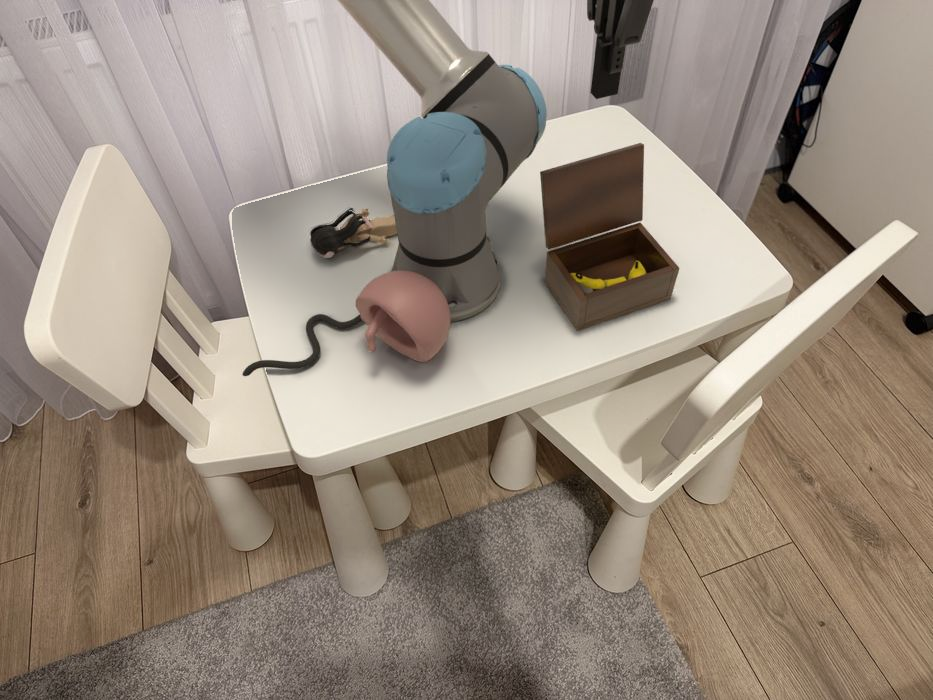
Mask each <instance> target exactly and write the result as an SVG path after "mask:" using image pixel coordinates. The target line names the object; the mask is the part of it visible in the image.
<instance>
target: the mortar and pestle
mask: <svg viewBox="0 0 933 700" xmlns="http://www.w3.org/2000/svg"><path fill="white" fill-rule="evenodd" d="M354 305H355V308H356V309H357V311H358V314H360V317H361V319H362V320H363V321H362V322H364V323H365V324H366V325H367V326H368V327H367V329H366V331H365V333H364V336H365V339H366V345H367V351H368V352H370V353H374V352H375V351H376V348H377V343H376V337H377V338H378V339H379V340H382V341H383V343H385V344H386V345H388V346H390V347H391V348H392V349H393V350H394V351H396V352H398V353H399V354H401V355H402V356H405V357H407V358H410V359H411V360H414V361H417V362H421V363H423V362H427V361H429V360H431V359H433V358H434V357H435V355H437V353H439V352H440V350H441V349H442V347H443V346H444V344H445V342H446V340H447V338H448V336H449V332H450V328H451V321H450V310H449V306H448V303H447V300H446V298H445V296H444V294H443V293H442V291H441V290H440V289H439V288H438V286H437V285H436V284H435V283H433V282H432V281H431V280H430V279H428V278H427V277H425V276H423V275H421V274H418V273H415V272H411V271H392V270H391V271H388V272H385V273H382V274H381V275H378V276H377V277H374V278H373V279H372V280H371V281H369V282H368V283H367V284H366V285H365V286H364V287H363V289H362V290H361V291H360V293H359V294H358V296H357V297H356V299H355V301H354Z"/></svg>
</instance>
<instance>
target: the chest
mask: <svg viewBox="0 0 933 700" xmlns="http://www.w3.org/2000/svg"><path fill="white" fill-rule="evenodd" d="M636 261H639V262H640V263H641V264H642V266H643V267H644V269H645V271H646V274H644V275H641V276H638V277H635V278H632V279H629V280H628V277H629V273H630V271H631V270H632V268H633V266H634V264H635V262H636ZM679 271H680V266H679V265H678V264H677V263H676V262H675V261H674V260H673V259H672V257H671V256H670V255H669V254H668V253H667V252H666V250H665V249H664V248H663V247H662V246H661V244H660V243H659V242H658V241H657V240H656V239H655V238H654V237H653V235H652V234H651V233H650V232H649V230H648V229H647V228H646V227H645V226H644V225H643V224H642V222H636V223H632V224H629V225H626V226H623V227H619V228H616V229H613V230H610V231H607V232H603V233H600V234H597V235H594V236H591V237H588V238H584V239H581V240H578V241H575V242H572V243H568V244H565V245H562V246H559V247H556V248H553V249H549V250H548V251H546V260H545V272H544V273H545V274H544V283H545V285H546V287H547V288H548V289H549V291H550V292H551V293H552V295H553V297H554V299H555V300H556V301H557V303H558V304H559V306H560V307H561V310H562V311H563V312H564V313H565V315H566V316H567V318H568V320H569V321H570V323H571V324H572V325H573V327H574V328H575V330H576V331H577V332H578V331H581V330H584V329H587V328H590V327H593V326H596V325H600V324H602V323H604V322H607V321H610V320H613V319H616V318H619V317H622V316H624V315H628V314H631V313H634V312H637V311H640V310H642V309H645V308H649V307H650V306H653V305H656V304H659V303H662V302H665V301H668V300H671V299H672V296H673V292H674V290H675V286H676V282H677V278H678V275H679V273H680V272H679ZM578 272H579V273H581V274H582V276H584V277H587V278H590V279H601V280H603V281H604V280H609V279H616V278H620V277H626V281H623V282H620V283H617V284H614V285H611V286H608V287H605V288H602V289H599V290H596V291H593V292H590V293H587V294H585V295H584V293H583V292H582V290H581V289H580V288H579V286H578V285H577V283H576V282H575V281H574V279H573V278H572V276H571V275H570V273H578Z"/></svg>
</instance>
